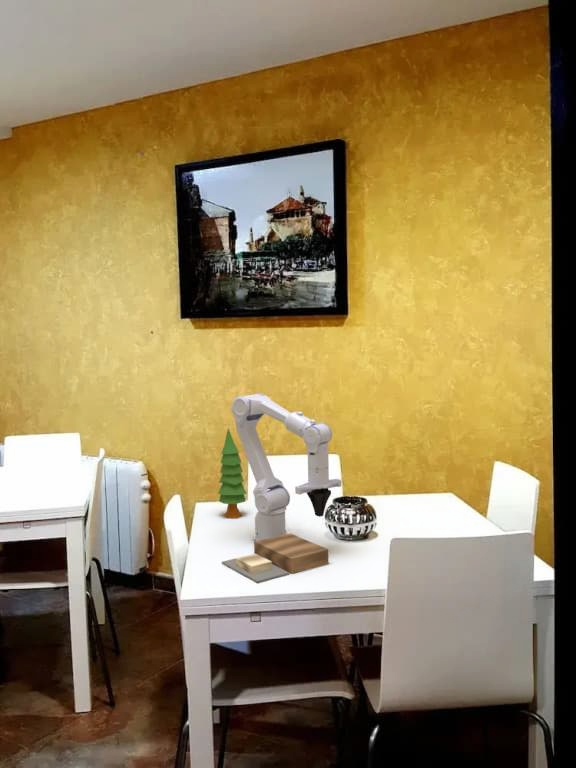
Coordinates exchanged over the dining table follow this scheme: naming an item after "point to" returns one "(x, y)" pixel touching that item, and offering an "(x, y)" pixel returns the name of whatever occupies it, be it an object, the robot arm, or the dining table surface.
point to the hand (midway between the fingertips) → (319, 515)
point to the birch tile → (254, 563)
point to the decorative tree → (231, 478)
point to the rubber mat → (259, 576)
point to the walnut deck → (291, 553)
